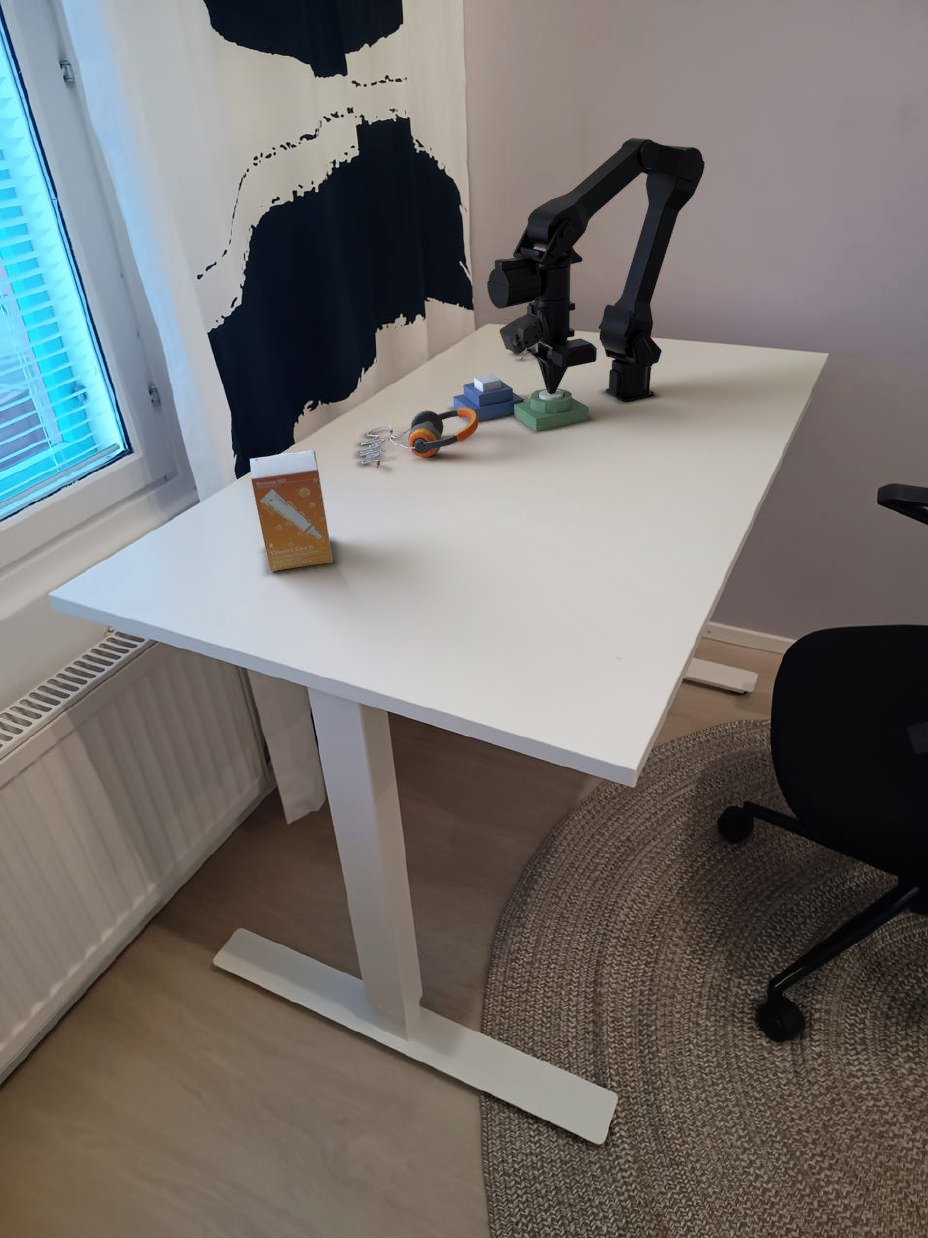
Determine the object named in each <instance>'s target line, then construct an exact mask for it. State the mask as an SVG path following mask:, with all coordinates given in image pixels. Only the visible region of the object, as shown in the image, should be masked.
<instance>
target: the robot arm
mask: <svg viewBox="0 0 928 1238" xmlns="http://www.w3.org/2000/svg"><path fill="white" fill-rule="evenodd" d="M705 163H706V162H705V160H704V157H703V154H702V152H701V151H700V149H698V148H697V147H692V146H680V145H679V146H678V145H669V144H661V143H658V142H656V141H654V140H652V139H650V138H638V137H637V138H636V137H631V138H629V139H626V140H625V141H624V142H623V143H622V144H621V147H620V148H619V149H618V150H617V151H616V152H614V153H613V154H612V155H611V156H610V157H608V159H607V160H605V161H604V162H602V164H601V165H600V166H598V168H596V169H595V170H594V171H593V172H591V173H590V174H589V175H588V176H587V177H585V178H584V179H583V180H582V181H581V182H580V183H579V184H578V185H576V186H575V188H573V189H572V190H570V191H569V192H567V193H565V194H563V195H560V196H557V197H554V198H552V199H550V200H548V201H546V202H545V203H542V204H541V205H539V206H537V207H536V208H535V209H533V210H532V211H531V212H530V213H529V216H528V218H527V224H526V228H525V229H524V230H523V232H522V234H521V237H520V238H519V241H518V242H517V245H516V247H515V248H514V251H513V253H512V257H509V258H498V259H495V260H494V268H493V269H492V270H491V271H490V274H489V276H488V280H487V282H486V288H487V294H488V297H489V299H490V302H491V303H492V304H493V306H494V307H495V308H497V309H499V310H501V309H506V308H511V307H515V306H520V305H523V304H528V305H527V306H526V314H524V315H522V316H519V317H517V318H515V319H514V320H512V321H510V322H509V323H508V324H506V325H504V326H503V327H501V328H500V329H499V334H500V337H501V340H502V342H503V345H504V347H505V349H506V350H507V351H508V350H509V351H510V352H512V353H513V354H514V355H519V354H523V353H525V352H524V351H525V349H526V348H527V349H526V350H527V352H528V353H530V354H529V355H531V356H532V357H533V358H534V359H535V360H536V361H537V364H538V366H539V369H540V372H541V375H542V379H543V383H544V386H545V389H547V392H548V393H549V394H554V393H555V392H556V390H557V388H558V389H559V386H560V384H561V382H562V380H563V378H564V376H565V375H566V372H567V370H568V368H572V367H576V366H582V365H586V364H591V363H595V362H597V355H598V348H597V347H596V346H595V344H593V343H592V342H591V341H588V340H586V339H584V338H582V337H580V338H574V339H569V338H573V337H575V334H576V330H575V329H574V328H571V325H570V323H571V322H570V321H571V311H576V303H575V302H573V301H572V300H571V269H572V268H571V267H572V266H571V265H575V264H578V263H579V264H580V263H581V262H583V257H582V256H581V255H580V254H579V253H577V251H576V250H575V248H574V246H575V245H576V244H577V243H578V241H579V240H580V239H581V237H583V236H584V234H585V233H586V230H587V228H588V224H589V222H590V220H591V219H592V218H593V217H594V215H596V214H597V213H598V212H599V211H600V210H601V209H602V208H603V207H605V205H607V204H608V203H609V202H610V201H611V200H613V198H614V197H616V196H617V195H618V194H619V193H620V192H621V191H623V190H624V189H625V188H626V187H627V186H629V184H631V183H632V182H633V181H634V180H635V179H636V178H638V177H639V176H640V175H642V174H644V175H646V180H645V189H646V190H645V191H646V194H647V195H646V196H647V201H648V202H647V203H648V206H647V210H646V212H645V216H644V220H643V224H642V226H641V230H640V233H639V235H638V236H639V237H638V239H637V244H636V247H635V251H634V254H633V257H632V259H631V263H630V267H629V270H628V274H627V277H626V281H625V285H624V287H623V291H622V294H621V296H620V298H618V300H617V301H616V302H615V303H614V304H609V303H607V304H606V305H605V307H604V310H603V314H602V315H603V316H602V319H601V322H600V324H599V326H598V327H597V328H598V329H599V330H600V332H599V341H600V343H601V345H602V347H603V349H604V353H605V356H606V358H610V359H612V360H611V369H609V372H608V373H609V375H608V376H609V377H608V388H605V393H606V394H609V395H610V396H612V397H614V398H615V399H618V400H620V401H622V402H623V403H628V402H631V401H635V400H636V401H637V400H641V399H644V398H650V397H654V396H655V393H656V392H655V391H653V390H651V389H650V388H651V377H652V376H651V374H652V367H653V365H655V364H658V363H659V361H660V358H661V355H662V352H663V351H662V349H661V347H660V346H658V344H657V343H656V342H655V341H654V339H652V333H653V332H652V331H653V327H654V326H653V325H654V319H653V314H652V307H651V302H652V300H653V296H654V293H655V290H656V287H657V282H658V280H659V277H660V273H661V270H662V267H663V264H664V260H665V257H666V254H667V250H668V247H669V246H670V245H669V244H670V241H671V238H672V235H673V232H674V229H675V225H676V222H677V219H678V216H679V213H680V211H681V210H682V209H683V208H684V207H685V206H686V205H687V203H688V202H689V201H690V200H691V199H692V198H693V197H694V195H695V193H696V191H697V188H698V186H699V184H700V182H701V180H702V177H703V175H704V171H705V165H706V164H705ZM537 248H538V249H537ZM542 249H543V250H542ZM530 347H531V348H530Z"/></svg>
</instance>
